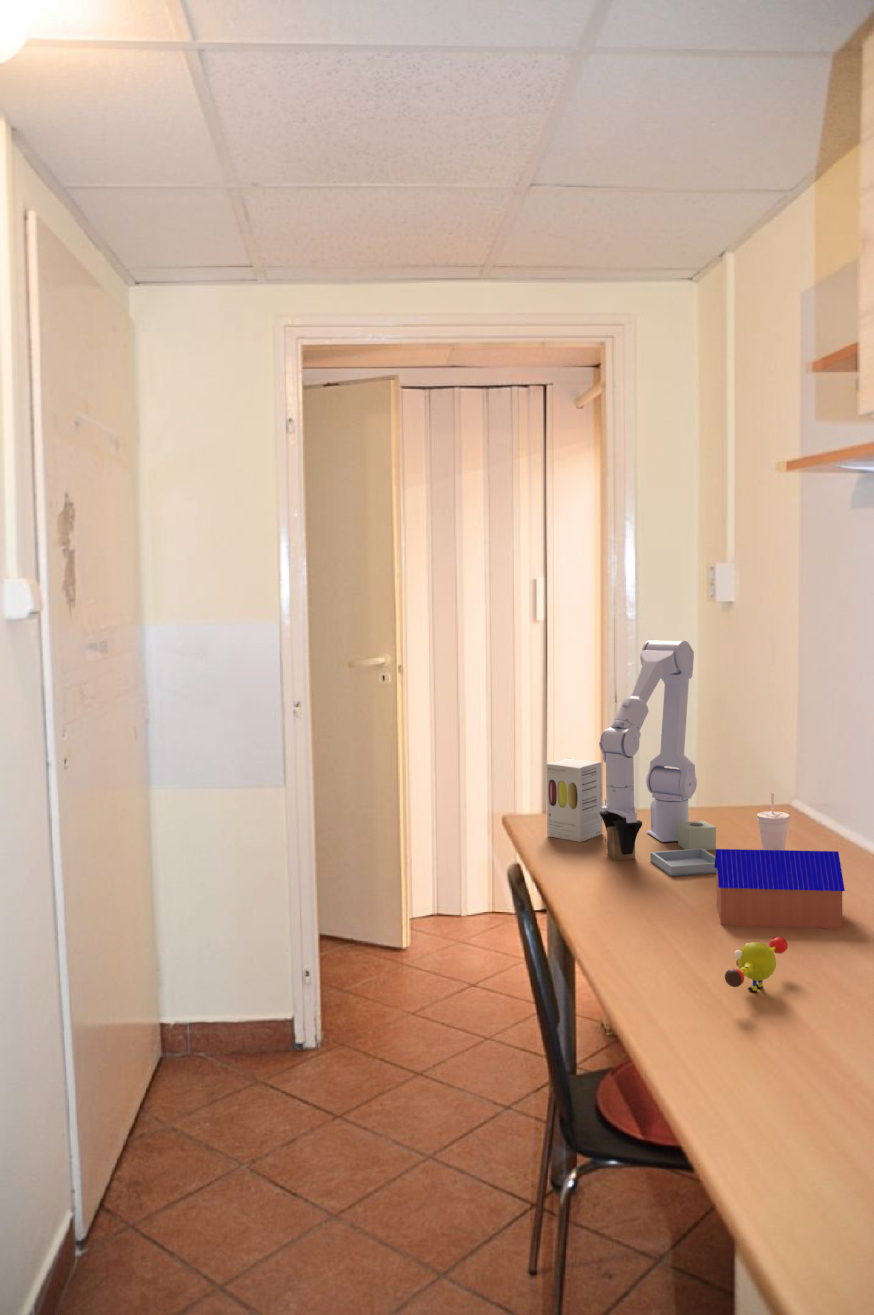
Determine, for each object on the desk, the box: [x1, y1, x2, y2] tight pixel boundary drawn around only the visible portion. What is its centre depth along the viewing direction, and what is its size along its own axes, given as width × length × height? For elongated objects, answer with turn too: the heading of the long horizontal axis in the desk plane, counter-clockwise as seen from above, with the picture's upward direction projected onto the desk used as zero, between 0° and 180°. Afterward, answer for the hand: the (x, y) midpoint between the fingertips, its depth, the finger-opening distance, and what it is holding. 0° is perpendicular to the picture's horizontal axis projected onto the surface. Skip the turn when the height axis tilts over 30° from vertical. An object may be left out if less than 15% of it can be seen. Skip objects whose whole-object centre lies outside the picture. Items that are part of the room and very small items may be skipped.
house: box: [714, 848, 846, 930], centre depth 182 cm, size 12×20×12 cm, turn 79°
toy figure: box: [724, 936, 789, 993], centre depth 151 cm, size 18×6×7 cm, turn 141°
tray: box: [649, 848, 717, 878], centre depth 213 cm, size 11×11×2 cm
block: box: [606, 826, 636, 861], centre depth 222 cm, size 4×4×6 cm
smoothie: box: [756, 792, 791, 850], centre depth 215 cm, size 6×6×14 cm
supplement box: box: [546, 757, 603, 843], centre depth 241 cm, size 10×9×17 cm
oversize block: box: [677, 820, 717, 851], centre depth 228 cm, size 6×6×5 cm
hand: (620, 849), depth 223 cm, fingers open, 7 cm apart
